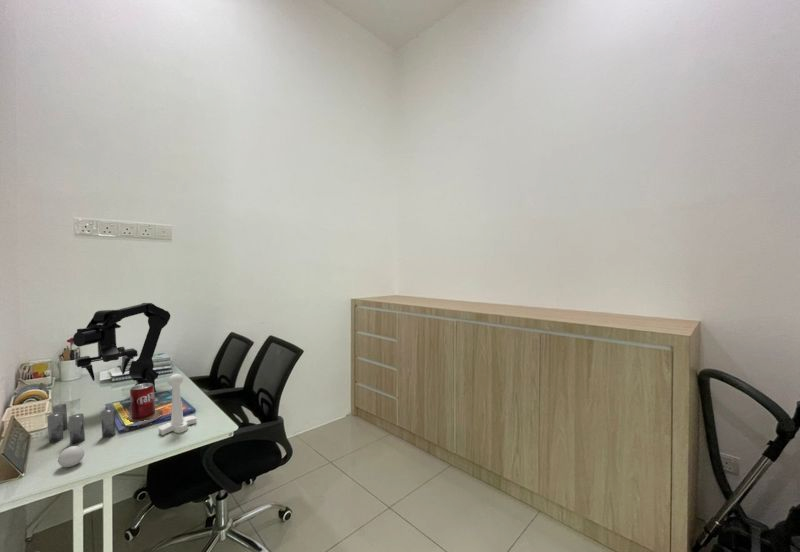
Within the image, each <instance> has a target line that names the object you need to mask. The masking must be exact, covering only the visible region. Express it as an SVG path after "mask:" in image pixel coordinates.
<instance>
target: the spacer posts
mask: <svg viewBox="0 0 800 552" xmlns="http://www.w3.org/2000/svg"><path fill="white" fill-rule="evenodd" d="M51 410H52V413H51V414H49V415H47V416H46V419H47V420H46V421H47V438H48V443H49V444H54V443H58V442H61V441H63V440H64V431H66V430H69V442H70V443H69V444H70V445H72V446H76V445H78V444H81V443H84V441H86V438H85V437H86V436H85V435H86V434H85V418H84V416H85V415H84V413H81V412H80V413H76V414H73V415H70V416H69V417H68V412H67V411H68V410H67V403H60V404H57V405H53V406H52V409H51ZM115 411H116V410H115V408H111V407H109V408H107V409H103V410H101V411H100V419H101V421H100V422H101V437H102V439H109V438H113V437H114V436H115V435H116V434H117V432H116V415H115ZM68 426H69V427H68ZM68 428H69V429H68Z"/></svg>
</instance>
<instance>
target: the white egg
mask: <svg viewBox="0 0 800 552" xmlns="http://www.w3.org/2000/svg"><path fill="white" fill-rule="evenodd" d="M84 457H85V449H84V448H83V446H82V447H81V446H78V445H72V446H69V447H67V448H65V449H64V450H62V452H60V453H59V455H58V456H56V457H55V459H57V462H58V464H59V466H61V467H63V468H72V467H75V466H76V465H77V464H79V463H80V462H81V461H83V459H84Z"/></svg>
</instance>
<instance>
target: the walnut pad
mask: <svg viewBox="0 0 800 552" xmlns="http://www.w3.org/2000/svg"><path fill="white" fill-rule="evenodd" d="M162 414H163V415H164V411H163V410H160V409H155V414H154V415H153V416H151V417H149V418H147V419H143V420H133V419H132V418H131V415H129V416H127V417H126V418H125V419H127V420H129V421H130V422H138V421H144V420H150V419H155V418H157V417H158V416H160V415H162Z"/></svg>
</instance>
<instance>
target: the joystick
mask: <svg viewBox="0 0 800 552" xmlns="http://www.w3.org/2000/svg"><path fill="white" fill-rule="evenodd" d="M183 381H184V378H183V375H181V374H180V373H173V374H172V375H170V376H169V377H168V381H167V384H169V386H171V415H170V416H171V420H170V422H167V423H164V424H162V425H160V426H158V435H161V436H164V435H166V434H168V433H170V432H174V433H176V434H182V433H184V432H186V431H187V430H188V429H189V425H193V424H197V423H198V422H197V417H196V416H195V415H188V416H184V413H183V402H182V396H181V395H182V394H181V384H182V383H183Z"/></svg>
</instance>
